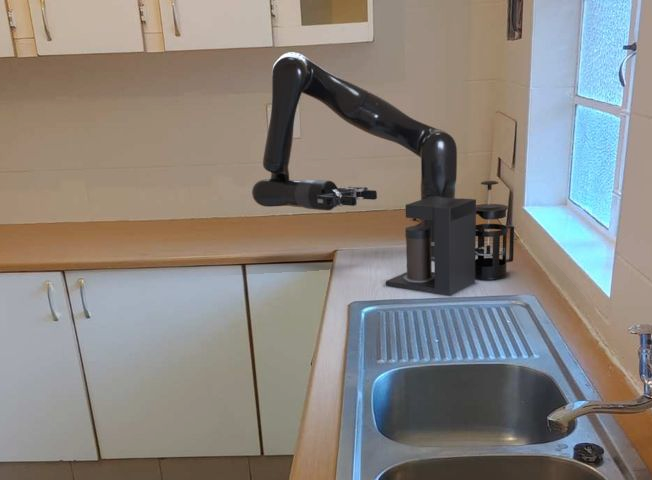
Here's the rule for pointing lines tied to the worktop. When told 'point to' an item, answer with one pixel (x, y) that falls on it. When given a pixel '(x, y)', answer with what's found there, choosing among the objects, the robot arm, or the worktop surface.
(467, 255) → the coffee maker
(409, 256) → the brown travel mug
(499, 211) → the french press
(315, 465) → the worktop surface
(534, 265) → the worktop surface
